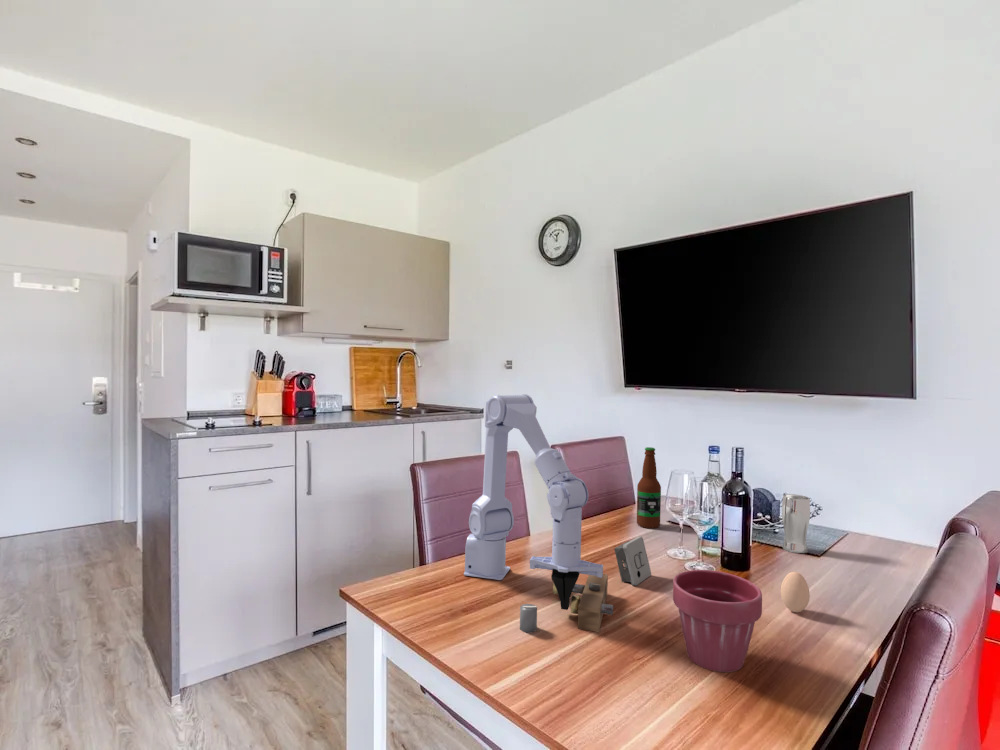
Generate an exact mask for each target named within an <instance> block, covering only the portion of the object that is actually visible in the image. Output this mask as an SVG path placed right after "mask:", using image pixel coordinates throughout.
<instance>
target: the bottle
mask: <svg viewBox="0 0 1000 750" xmlns="http://www.w3.org/2000/svg"><path fill="white" fill-rule="evenodd" d="M644 450H645V452H644V460H643V464H642V473H641V475H642V476H641V478H640V480H639V482H638V483H637V488H636V490H637V491H636V492H637V495H636V524H637V525H638V526H639V527H641V528H643V529H651V530H652V529H657V528H660V526H661V508H662V507H661V505H662V504H661V503H662V486H661V483H660V482H659V480H658V479H657V474H658V473H657V463H656V457H655V455H656V453H655V452H656V448H655V447H645V448H644Z"/></svg>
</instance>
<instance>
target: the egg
mask: <svg viewBox="0 0 1000 750" xmlns="http://www.w3.org/2000/svg"><path fill="white" fill-rule="evenodd" d="M810 592H811V591H810V589H809V585H808V583H807V580H806V578H805V577H804V575H802V574H801V573H799V572H797V571H790V572H789V573H787V574H786V576H785V577H784V578H783V580H782V583H781V586H780V598H781V601H782V603H783V604H784V606H785V607H786V608H787V609H788V610H789V611H791V612H793V613H800V612H803V611H805V609H806V608H807V607H808V605H809V603H810V598H811V597H810V596H811V595H810Z"/></svg>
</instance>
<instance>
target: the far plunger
mask: <svg viewBox="0 0 1000 750" xmlns="http://www.w3.org/2000/svg"><path fill="white" fill-rule="evenodd" d="M584 588H585V584H580V583H576V584H575V586H574V588H573V590H572V593H574V594H581V595H582V594H583V591H584ZM552 594H553V595H558V592H557V589H556V587H555V585H554V583H553V582H552Z"/></svg>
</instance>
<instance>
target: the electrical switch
mask: <svg viewBox="0 0 1000 750" xmlns="http://www.w3.org/2000/svg"><path fill="white" fill-rule="evenodd" d="M614 554H615V557H616V558H615V559H616V562H617V566H618V570H619V575H620V580H621V582H622V583H631V585H632V586H633V587H634V586H638V585H639V584H640V583H642V582H644V581H645V580H646V579H648V578H649V577H650V576H651V575H652V571H651V566H650V562H649V557H648V554H647V549H646V545H645V541H644V538H643V536H637V537H635V538H634V539H631V540H627V541H625V542H623V543H622V544H620V545H618V546H616V547H615V548H614Z"/></svg>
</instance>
